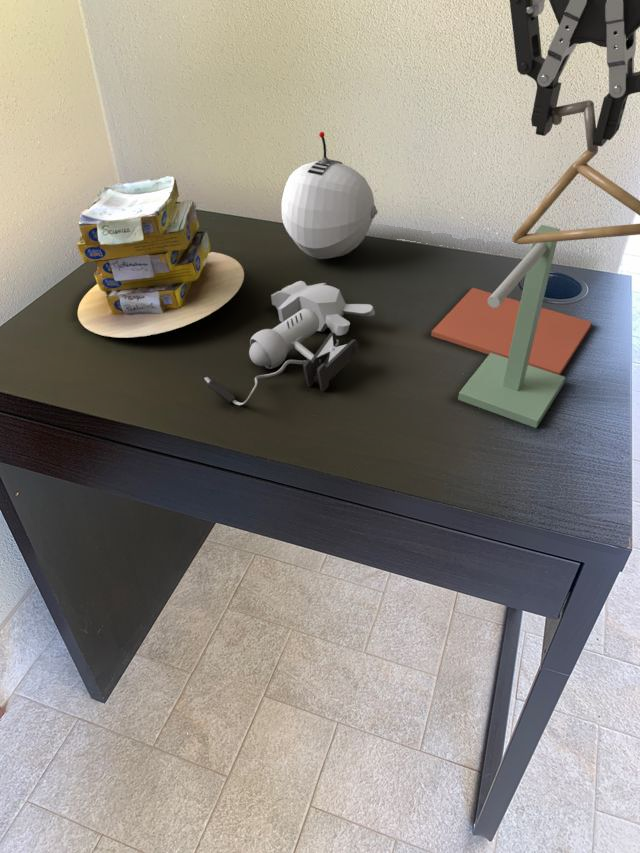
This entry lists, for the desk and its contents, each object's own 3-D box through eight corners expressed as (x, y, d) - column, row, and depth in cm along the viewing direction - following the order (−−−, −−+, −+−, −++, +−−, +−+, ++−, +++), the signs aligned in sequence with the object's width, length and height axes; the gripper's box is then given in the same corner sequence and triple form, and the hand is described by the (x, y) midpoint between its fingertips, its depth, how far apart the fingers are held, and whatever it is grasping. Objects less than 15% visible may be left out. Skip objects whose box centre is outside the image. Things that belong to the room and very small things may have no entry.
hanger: (671, 229, 57) (664, 83, 51) (669, 233, 56) (661, 86, 51) (515, 242, 65) (494, 118, 60) (511, 246, 64) (490, 121, 59)
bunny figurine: (300, 267, 102) (380, 290, 93) (304, 299, 105) (382, 323, 96) (255, 292, 96) (335, 318, 88) (260, 324, 99) (338, 353, 91)
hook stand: (563, 384, 86) (609, 223, 72) (507, 474, 74) (549, 303, 60) (489, 359, 90) (518, 202, 76) (424, 441, 79) (445, 273, 64)
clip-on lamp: (256, 445, 83) (365, 363, 88) (245, 413, 78) (361, 329, 83) (202, 392, 89) (307, 319, 94) (188, 359, 84) (300, 284, 89)
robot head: (392, 247, 115) (400, 123, 102) (352, 285, 106) (355, 153, 92) (308, 226, 121) (306, 107, 108) (264, 260, 112) (255, 134, 99)
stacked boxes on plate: (45, 335, 96) (8, 222, 85) (126, 254, 114) (104, 152, 103) (209, 359, 91) (193, 243, 80) (266, 271, 109) (260, 166, 98)
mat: (590, 326, 96) (592, 322, 96) (558, 377, 87) (559, 372, 87) (471, 292, 104) (472, 287, 103) (431, 335, 95) (431, 331, 94)
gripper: (509, -129, 46) (472, 135, 57) (742, -124, 40) (650, 170, 51) (546, -134, 50) (505, 111, 62) (759, -130, 45) (671, 140, 56)
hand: (571, 136), depth 56 cm, fingers closed on hanger, 4 cm apart
